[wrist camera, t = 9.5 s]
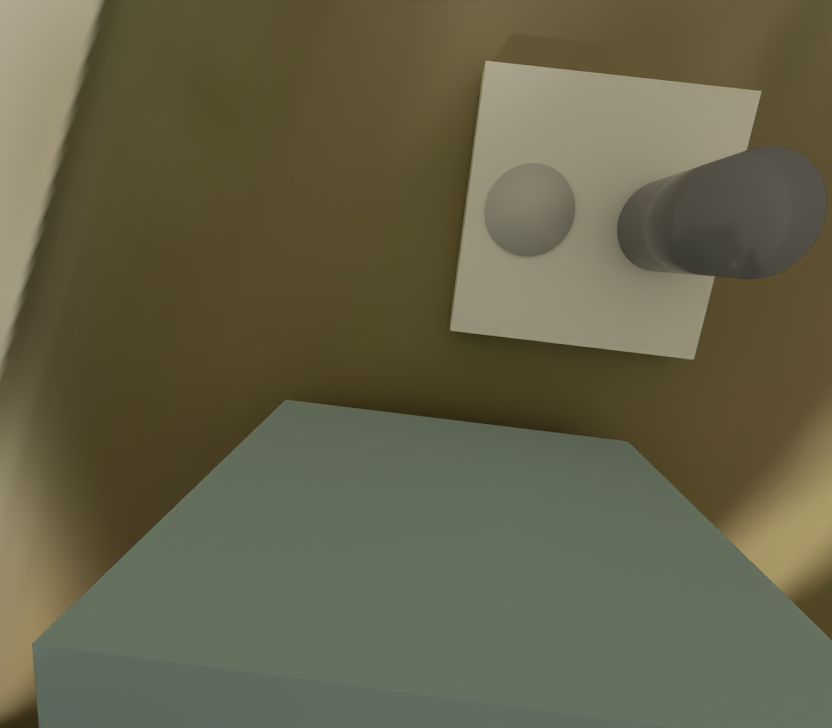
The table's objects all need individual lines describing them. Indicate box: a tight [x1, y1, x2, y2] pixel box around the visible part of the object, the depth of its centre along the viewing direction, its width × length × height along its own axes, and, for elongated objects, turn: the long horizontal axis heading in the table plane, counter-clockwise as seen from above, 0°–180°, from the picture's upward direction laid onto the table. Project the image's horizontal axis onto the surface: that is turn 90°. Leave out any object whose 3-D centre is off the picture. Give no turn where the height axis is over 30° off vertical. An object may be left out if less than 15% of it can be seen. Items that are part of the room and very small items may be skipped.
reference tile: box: [450, 61, 827, 360], centre depth 11 cm, size 7×7×5 cm
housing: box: [32, 400, 832, 728], centre depth 11 cm, size 10×10×9 cm
